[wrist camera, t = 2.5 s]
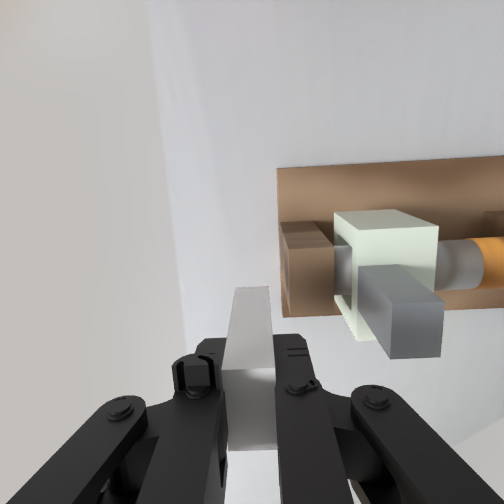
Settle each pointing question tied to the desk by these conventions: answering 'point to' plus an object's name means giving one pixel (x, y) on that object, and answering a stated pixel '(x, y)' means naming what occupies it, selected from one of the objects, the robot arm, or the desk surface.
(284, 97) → the desk surface
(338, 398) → the robot arm
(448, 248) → the pipe rig
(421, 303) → the collar
